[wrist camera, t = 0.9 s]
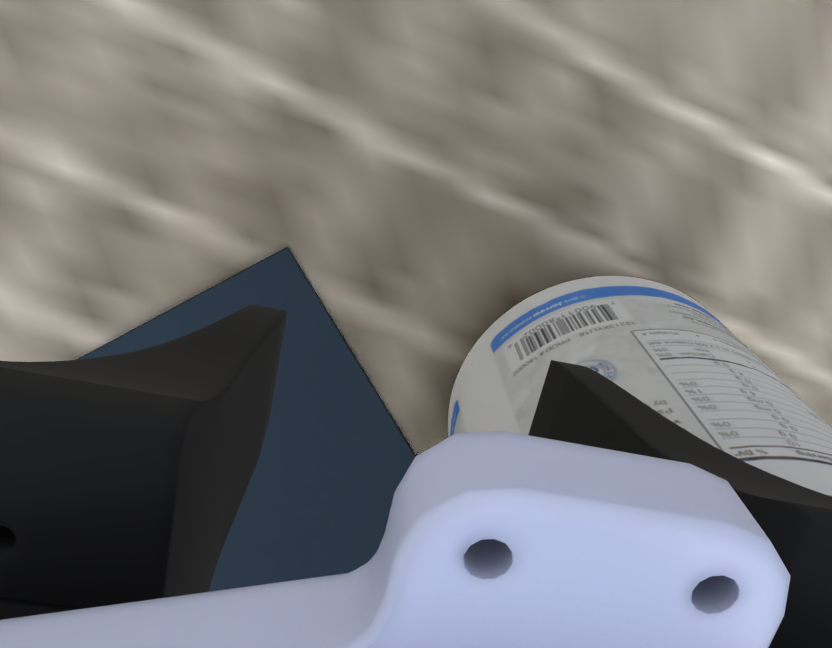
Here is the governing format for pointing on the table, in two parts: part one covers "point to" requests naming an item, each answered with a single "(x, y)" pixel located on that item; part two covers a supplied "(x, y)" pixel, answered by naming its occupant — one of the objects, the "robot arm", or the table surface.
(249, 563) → the desk mat
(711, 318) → the supplement tub
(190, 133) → the table surface
